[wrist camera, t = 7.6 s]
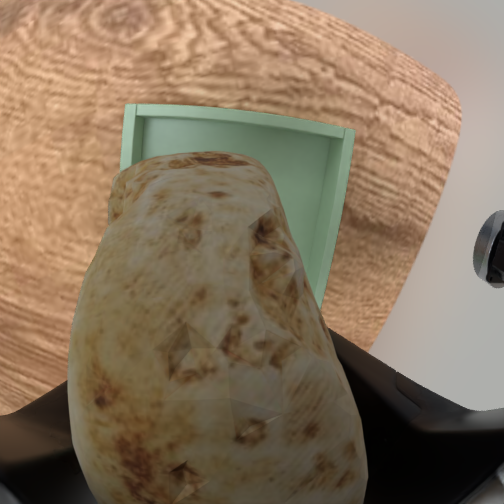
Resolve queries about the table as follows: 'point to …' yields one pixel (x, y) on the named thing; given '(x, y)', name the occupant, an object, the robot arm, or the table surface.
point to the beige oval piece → (207, 349)
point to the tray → (269, 155)
